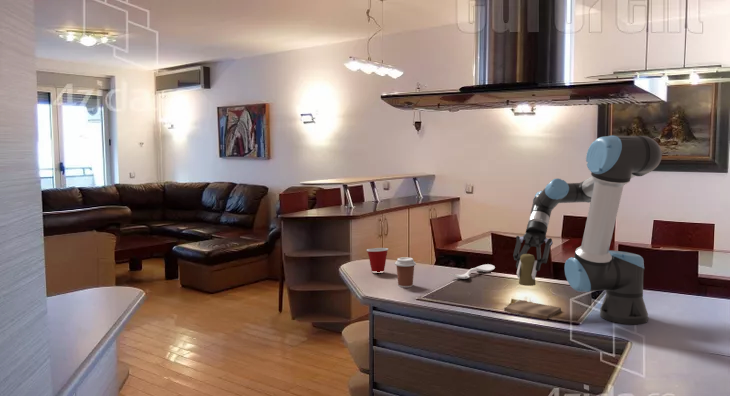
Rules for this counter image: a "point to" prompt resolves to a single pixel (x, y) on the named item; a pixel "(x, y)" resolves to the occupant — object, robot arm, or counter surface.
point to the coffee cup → (405, 271)
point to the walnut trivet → (532, 309)
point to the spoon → (480, 268)
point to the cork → (526, 270)
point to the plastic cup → (377, 258)
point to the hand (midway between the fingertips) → (525, 276)
